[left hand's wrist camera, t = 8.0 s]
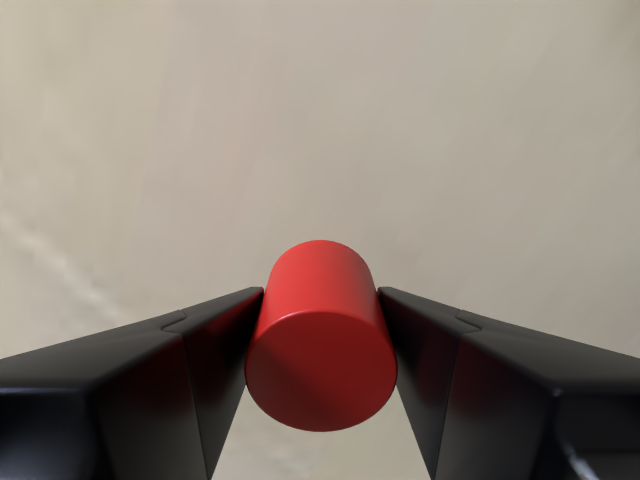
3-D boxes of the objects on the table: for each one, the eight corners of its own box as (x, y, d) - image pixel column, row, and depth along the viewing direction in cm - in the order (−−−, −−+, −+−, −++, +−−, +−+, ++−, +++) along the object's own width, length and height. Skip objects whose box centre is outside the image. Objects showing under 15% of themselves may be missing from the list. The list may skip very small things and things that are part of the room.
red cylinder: (304, 346, 13) (297, 452, 9) (248, 272, 12) (211, 355, 8) (390, 302, 12) (424, 396, 8) (338, 219, 11) (349, 280, 7)
